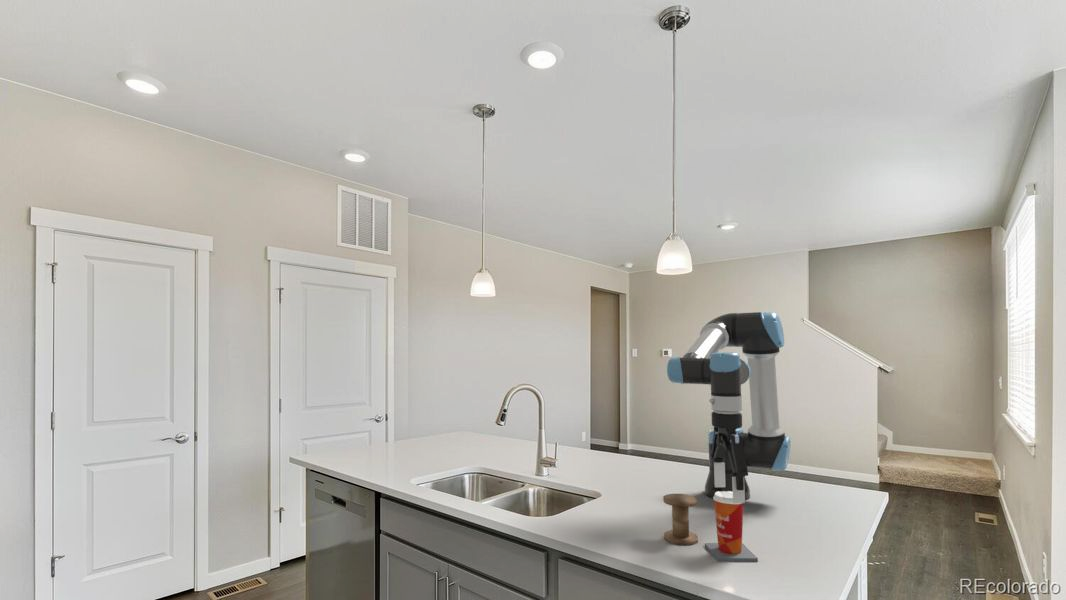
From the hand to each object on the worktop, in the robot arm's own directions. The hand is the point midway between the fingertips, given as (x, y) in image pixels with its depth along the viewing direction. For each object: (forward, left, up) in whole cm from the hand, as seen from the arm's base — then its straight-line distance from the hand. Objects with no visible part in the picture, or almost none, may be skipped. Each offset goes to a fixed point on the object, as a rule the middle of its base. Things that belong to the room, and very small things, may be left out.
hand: (729, 494), depth 140 cm
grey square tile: (0, 0, -15) cm, 15 cm away
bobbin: (+10, -10, -15) cm, 20 cm away
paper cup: (0, 0, -14) cm, 14 cm away
